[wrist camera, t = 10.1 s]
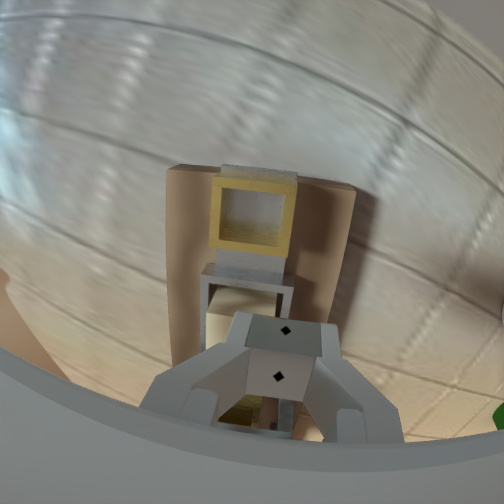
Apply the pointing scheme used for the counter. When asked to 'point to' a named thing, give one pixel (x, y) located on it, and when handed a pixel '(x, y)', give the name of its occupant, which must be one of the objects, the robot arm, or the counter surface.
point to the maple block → (234, 309)
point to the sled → (249, 249)
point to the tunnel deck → (297, 263)
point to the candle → (499, 417)
